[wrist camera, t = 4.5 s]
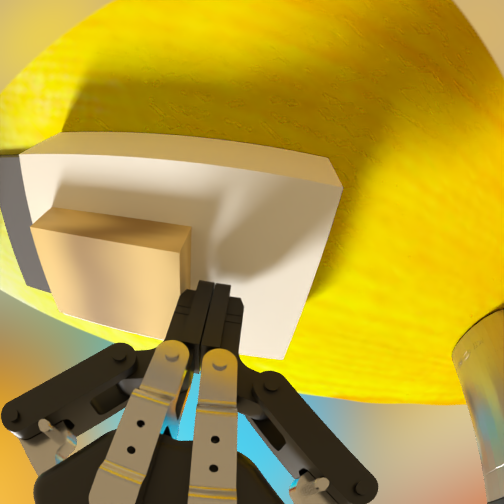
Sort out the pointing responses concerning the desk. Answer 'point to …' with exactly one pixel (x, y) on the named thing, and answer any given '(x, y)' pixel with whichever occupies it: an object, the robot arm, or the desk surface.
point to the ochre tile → (114, 268)
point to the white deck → (205, 211)
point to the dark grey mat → (19, 222)
